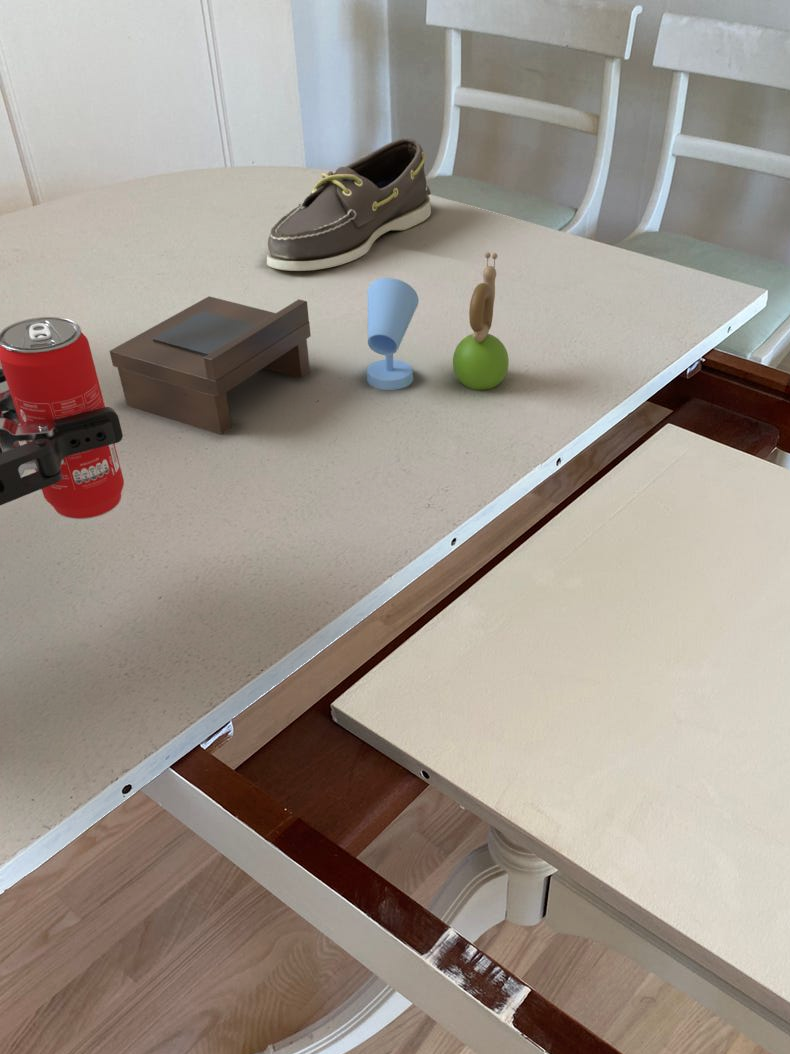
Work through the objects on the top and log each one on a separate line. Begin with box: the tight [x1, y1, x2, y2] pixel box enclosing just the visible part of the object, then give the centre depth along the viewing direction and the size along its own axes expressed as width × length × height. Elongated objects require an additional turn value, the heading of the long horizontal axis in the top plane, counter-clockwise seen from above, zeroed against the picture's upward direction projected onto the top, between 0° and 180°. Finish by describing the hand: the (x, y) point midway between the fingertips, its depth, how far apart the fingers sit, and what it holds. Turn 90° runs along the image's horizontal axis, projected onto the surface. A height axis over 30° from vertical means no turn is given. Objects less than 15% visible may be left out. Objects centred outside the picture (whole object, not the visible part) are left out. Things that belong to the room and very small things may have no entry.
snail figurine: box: [452, 251, 510, 391], centre depth 92 cm, size 5×6×12 cm
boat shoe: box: [266, 137, 432, 272], centre depth 122 cm, size 11×31×9 cm, turn 149°
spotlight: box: [366, 277, 419, 391], centre depth 93 cm, size 5×10×7 cm
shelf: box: [109, 296, 311, 436], centre depth 91 cm, size 12×14×8 cm
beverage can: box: [0, 316, 125, 520], centre depth 62 cm, size 5×5×12 cm
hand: (103, 404), depth 63 cm, fingers closed on beverage can, 5 cm apart
